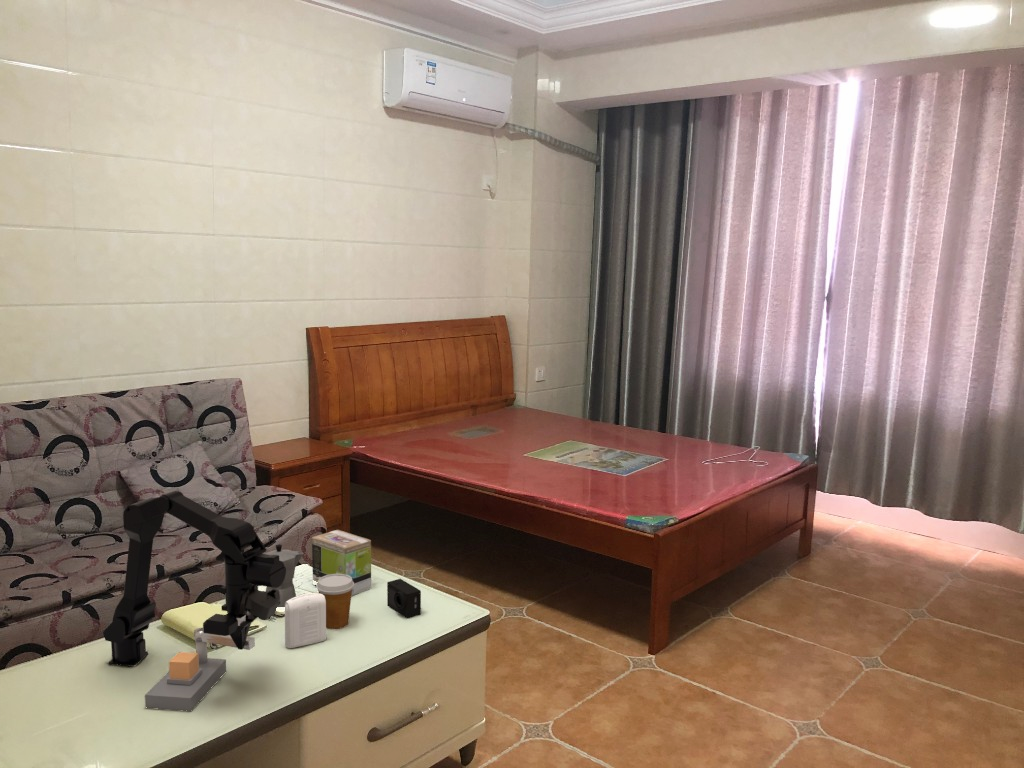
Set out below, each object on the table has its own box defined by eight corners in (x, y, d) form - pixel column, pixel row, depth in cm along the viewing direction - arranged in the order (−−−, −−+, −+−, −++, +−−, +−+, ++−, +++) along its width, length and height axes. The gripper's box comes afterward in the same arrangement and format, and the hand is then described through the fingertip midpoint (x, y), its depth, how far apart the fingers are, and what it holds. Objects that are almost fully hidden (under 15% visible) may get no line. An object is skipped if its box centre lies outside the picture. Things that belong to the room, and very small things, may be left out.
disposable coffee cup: (362, 622, 219) (361, 578, 217) (336, 635, 211) (335, 590, 209) (335, 613, 224) (334, 570, 222) (309, 626, 216) (308, 581, 214)
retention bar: (248, 650, 184) (248, 642, 184) (191, 640, 189) (191, 632, 188) (255, 645, 187) (255, 636, 186) (199, 635, 191) (199, 626, 191)
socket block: (145, 708, 176) (143, 671, 175) (184, 668, 193) (183, 635, 191) (191, 711, 175) (189, 674, 174) (226, 671, 192) (225, 637, 191)
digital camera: (383, 607, 228) (383, 582, 227) (400, 602, 232) (400, 578, 231) (403, 620, 220) (403, 595, 219) (420, 615, 224) (420, 590, 223)
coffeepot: (301, 597, 233) (299, 535, 230) (309, 610, 225) (307, 546, 222) (243, 607, 226) (241, 543, 223) (250, 621, 218) (247, 555, 215)
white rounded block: (322, 634, 211) (321, 587, 209) (329, 640, 208) (328, 593, 206) (282, 644, 206) (281, 596, 204) (288, 651, 202) (287, 602, 200)
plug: (167, 697, 181) (165, 662, 179) (179, 684, 186) (178, 650, 185) (191, 699, 180) (189, 664, 179) (203, 686, 185) (201, 652, 184)
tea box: (372, 588, 240) (372, 539, 238) (345, 599, 233) (344, 548, 230) (338, 575, 250) (338, 527, 247) (311, 585, 242) (310, 536, 240)
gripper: (247, 600, 171) (249, 673, 173) (293, 570, 189) (295, 636, 191) (200, 594, 174) (202, 666, 176) (250, 565, 192) (251, 630, 194)
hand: (240, 649), depth 184 cm, fingers closed
